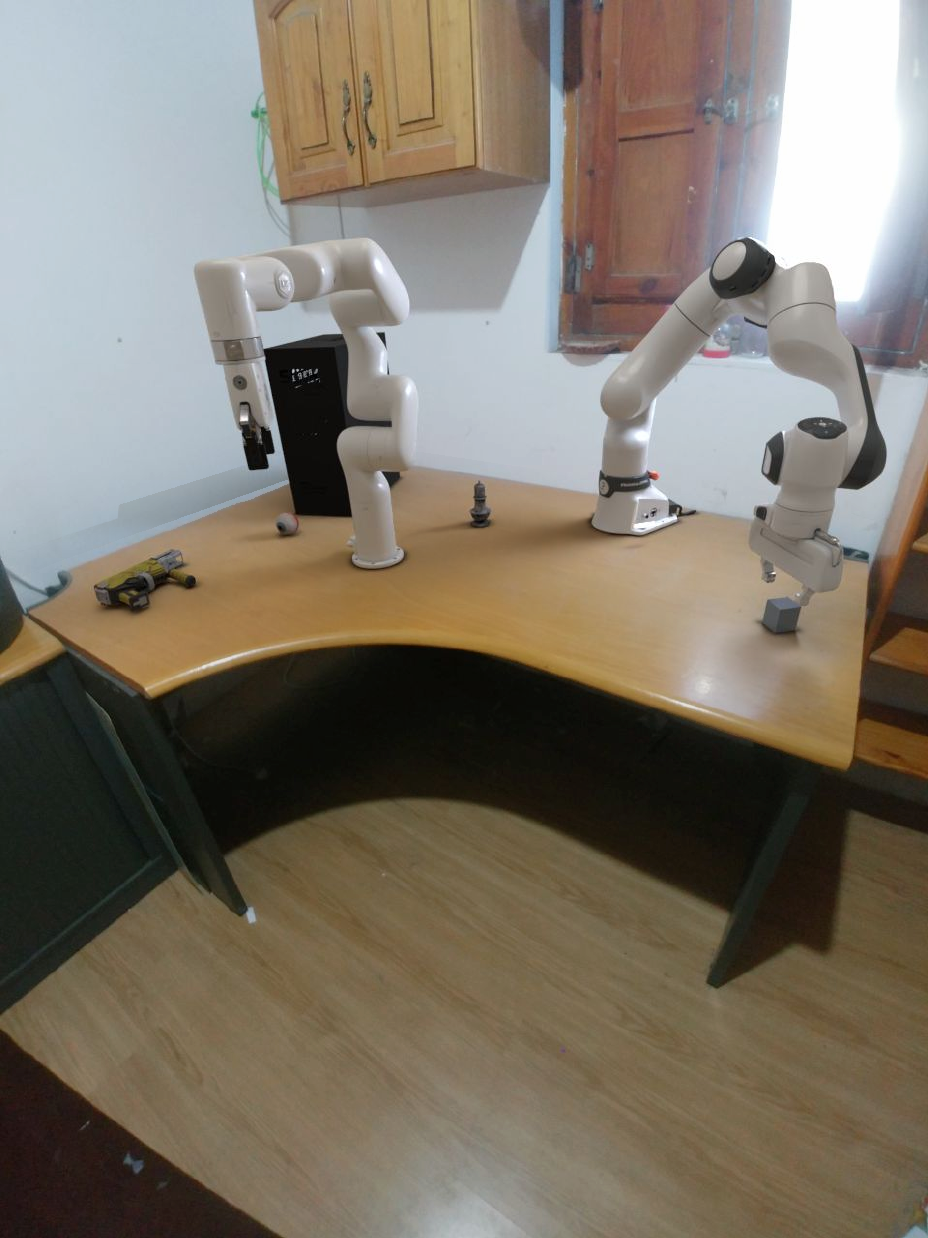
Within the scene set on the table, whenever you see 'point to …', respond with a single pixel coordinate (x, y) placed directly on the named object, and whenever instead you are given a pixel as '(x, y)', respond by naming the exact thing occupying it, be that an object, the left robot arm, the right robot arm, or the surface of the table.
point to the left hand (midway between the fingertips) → (262, 461)
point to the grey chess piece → (480, 507)
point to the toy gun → (141, 581)
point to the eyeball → (287, 523)
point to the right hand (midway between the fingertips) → (783, 592)
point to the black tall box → (315, 420)
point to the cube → (781, 614)
